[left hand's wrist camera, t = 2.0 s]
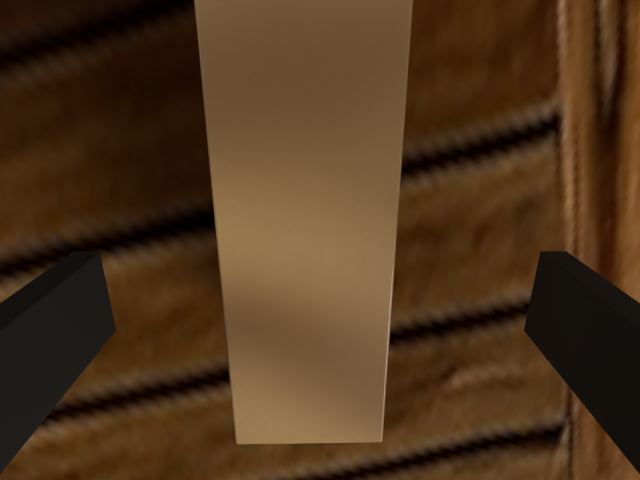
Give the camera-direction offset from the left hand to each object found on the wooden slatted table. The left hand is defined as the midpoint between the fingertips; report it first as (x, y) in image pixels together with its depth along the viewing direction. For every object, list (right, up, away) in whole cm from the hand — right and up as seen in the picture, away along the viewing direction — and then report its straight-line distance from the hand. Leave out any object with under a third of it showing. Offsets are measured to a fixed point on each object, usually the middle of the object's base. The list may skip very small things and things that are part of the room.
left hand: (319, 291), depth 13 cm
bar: (0, +23, -1) cm, 23 cm away
